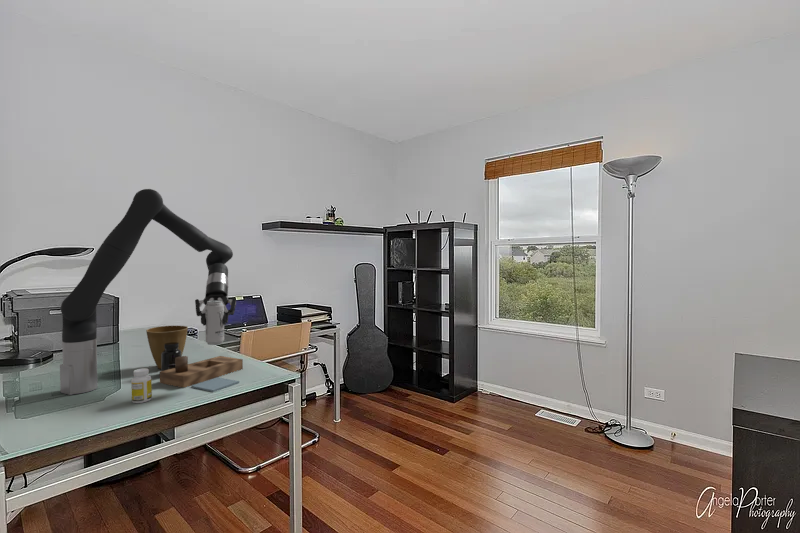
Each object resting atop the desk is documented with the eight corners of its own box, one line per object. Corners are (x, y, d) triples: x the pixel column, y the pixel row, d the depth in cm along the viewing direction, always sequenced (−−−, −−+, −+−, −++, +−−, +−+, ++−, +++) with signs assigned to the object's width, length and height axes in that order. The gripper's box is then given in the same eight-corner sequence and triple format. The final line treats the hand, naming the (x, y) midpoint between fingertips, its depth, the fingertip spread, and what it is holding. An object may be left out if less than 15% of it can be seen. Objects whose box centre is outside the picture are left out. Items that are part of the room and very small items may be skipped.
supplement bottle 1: (148, 396, 133) (147, 366, 133) (154, 400, 130) (154, 369, 129) (129, 401, 129) (128, 370, 129) (135, 404, 125) (134, 373, 125)
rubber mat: (213, 392, 137) (213, 390, 137) (191, 387, 142) (191, 385, 142) (239, 382, 147) (239, 381, 147) (217, 378, 152) (217, 377, 152)
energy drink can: (219, 345, 142) (219, 302, 141) (202, 345, 142) (201, 302, 142) (227, 341, 148) (226, 300, 147) (210, 341, 148) (210, 300, 148)
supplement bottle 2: (172, 377, 154) (172, 345, 154) (157, 376, 156) (156, 344, 155) (185, 372, 161) (185, 341, 161) (170, 371, 162) (170, 341, 162)
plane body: (183, 387, 142) (183, 362, 141) (159, 382, 147) (159, 358, 147) (242, 369, 165) (242, 347, 165) (220, 365, 171) (219, 344, 170)
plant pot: (138, 370, 164) (137, 330, 163) (169, 361, 178) (168, 324, 178) (166, 373, 159) (165, 332, 159) (196, 363, 173) (196, 326, 173)
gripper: (195, 281, 149) (190, 318, 138) (237, 280, 154) (236, 316, 143) (197, 294, 154) (192, 331, 143) (238, 293, 159) (236, 328, 148)
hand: (214, 323), depth 143 cm, fingers closed on energy drink can, 6 cm apart
